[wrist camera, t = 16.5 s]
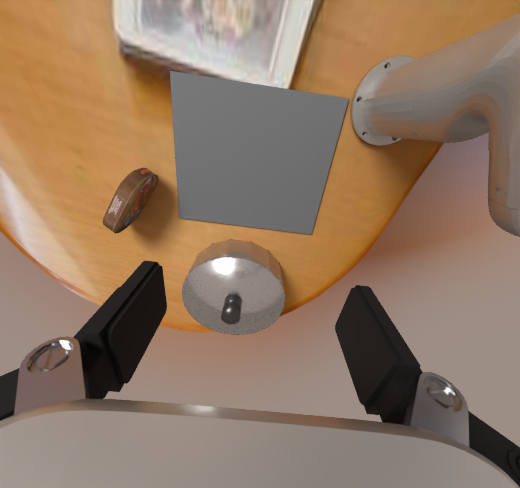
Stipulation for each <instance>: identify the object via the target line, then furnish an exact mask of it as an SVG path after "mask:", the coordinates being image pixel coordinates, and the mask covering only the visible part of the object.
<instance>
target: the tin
mask: <svg viewBox="0 0 520 488" xmlns="http://www.w3.org/2000/svg"><path fill="white" fill-rule="evenodd" d="M157 181H158V176H157V175H155V174H153V173H152V172H151V171H150V170H148V169H147V168H140V169H137V170H134V171H133V172H131V173H130V174H129V175H128V176H127V177H126V178H125V179H124V180H123V181H122V182H121V184H120V185H119V187H118V189H117V191H116V193H115V195H114V197H113V199H112V201H111V203H110V205H109V207H108V210H107V212H106V214H105V216H104V218H103V224H104V225H105V226H106V227H107V228H109V229H110V230H112V231H113V232H114V233H119V232H121V231H123V230H124V229H126V228H127V227H128V226H129V225H130V224H131V223H132V222H133V221H134V220H135V219H136V218H137V217H138V215H139V214H140V212H141V211H142V209H143V207H144V205H145V204H146V202H147V200H148V198H149V197H150V195H151V193H152V191H153V190H154V188H155V186H156V184H157Z"/></svg>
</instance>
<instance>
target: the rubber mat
mask: <svg viewBox="0 0 520 488" xmlns="http://www.w3.org/2000/svg"><path fill="white" fill-rule="evenodd" d="M170 79H171V95H172V111H173V127H174V143H175V159H176V175H177V191H178V207H179V218H183V219H191V220H199V221H207V222H215V223H223V224H231V225H239V226H247V227H255V228H263V229H271V230H279V231H287V232H295V233H303V234H312V231H313V227H314V223H315V220H316V216H317V213H318V209H319V205H320V202H321V198H322V194H323V191H324V187H325V184H326V180H327V176H328V173H329V169H330V165H331V162H332V158H333V155H334V151H335V147H336V144H337V140H338V137H339V133H340V129H341V126H342V122H343V118H344V115H345V111H346V108H347V104H348V100H349V99H348V98H341V97H335V96H328V95H322V94H316V93H309V92H303V91H296V90H290V89H283V88H277V87H270V86H264V85H257V84H251V83H245V82H238V81H232V80H225V79H219V78H212V77H206V76H199V75H193V74H186V73H180V72H174V71H170Z"/></svg>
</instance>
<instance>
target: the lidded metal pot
mask: <svg viewBox="0 0 520 488" xmlns="http://www.w3.org/2000/svg"><path fill="white" fill-rule="evenodd" d="M285 297H286V295H285V286H284V278H283V275H282V271H281V268H280V263H279V262H278V261H277V260H276V259H275V258H274V257H273V255H272V254H271V253H270V252H269V251H268V250H267V249H265V248H263V247H261V246H259V245H257V244H255V243H253V242H251V241H242V240H234V239H230V240H226V241H221V242H217V243H213V244H211V245H210V246H209V247H207V248H206V249H204V250H203V251H202V252H200V253H199V254H198V255H197V257H196V259H195V261H194V263H193V265H192V267H191V269H190V271H189V273H188V275H187V277H186V279H185V281H184V283H183V289H182V298H183V302H184V305H185V307H186V309H187V311H188V312H189V314H190V315H191V316H192V317H193V318H194V319H195V320H196V321H197V322H199V323H200V324H202V325H203V326H205V327H207V328H209V329H211V330H214V331H217V332H220V333H224V334H231V335H244V334H250V333H254V332H257V331H260V330H263V329H265V328H266V327H268V326H270V325H271V324H273V323H274V322H275V321H276V320H277V319H278V317H279V316H280V314H281V312H282V310H283V307H284V302H285Z"/></svg>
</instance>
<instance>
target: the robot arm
mask: <svg viewBox="0 0 520 488" xmlns="http://www.w3.org/2000/svg"><path fill="white" fill-rule="evenodd" d="M384 65H386V68H384ZM357 98H358V99H359V101H358V102H357ZM351 121H352V126H353V128H354V131H355V132H356V134H357V135H358V137H360V138H361V139H362V140H363V141H365V142H367V143H369V144H372V145H378V146H382V145H389V144H393V143H395V142H397V141H400V140H401V139H403V138H404V139H414V140H423V141H433V142H445V143H455V142H463V141H467V140H471V139H474V138H477V137H479V136H482V135H484V134H486V133H489V142H488V149H489V176H488V205H489V212H490V215H491V217H492V219H493V221H494V222H495V223H496V225H498V226H499V227H500V228H502V229H503V230H505V231H506V232H509V233H511V234H513V235H516V236H519V237H520V12H519V13H517V14H516V15H514V16H512V17H510V18H508V19H506V20H504V21H502V22H500V23H498V24H496V25H493V26H491V27H489V28H487V29H485V30H483V31H481V32H478V33H476V34H474V35H471V36H469V37H467V38H464V39H462V40H460V41H458V42H455V43H453V44H451V45H448V46H446V47H444V48H441V49H439V50H437V51H434V52H432V53H430V54H427V55H425V56H423V57H420V58H418V59H416V58H413V57H410V56H397V57H392V58H390V59H388V60H385V61H383V62H381V63H380V64H378V65H377V66H375V67H374V68H373V69H372V70H370V72H369V73H368V74H367V75H366V76H365V77H364V78H363V80H362V81H361V83H360V84H359V86H358V88H357V90H356V92H355V94H354V97H353V101H352V106H351ZM363 132H364V135H362V133H363ZM392 138H393V139H392ZM166 309H167V303H166V295H165V286H164V278H163V269H162V266H160V265H159V264H158V262H152V261H144V262H142V264H141V265H140V266H139V267H138V268H137V269H136V270H135V271H134V273H133V274H132V275H131V276H130V277H129V278H128V279H127V281H126V282H125V283H124V284H123V285H122V286H121V287H119V288H118V289H117V290H116V291H115V292H114V293H113V294H112V295H111V296H110V297H109V298H108V299H107V301H106V302H105V303H104V304H103V305H102V306H101V307H100V308H99V309H98V311H97V312H96V313H95V314H94V315H93V316H92V317H91V318H90V319H89V321H88V322H87V323H86V324H85V325H84V326H83V327H82V329H81V330H80V331H79V332H78V333H77V334H76V335H75V336H74V337H59V338H55V339H52V340H49V341H47V342H45V343H43V344H41V345H39V346H38V347H36V348H35V349H33V350H32V351H31V352H30V353H29V354H28V355H27V356H26V357H25V358H24V360H23V361H22V362H21V365H20V368H18V369H16V370H14V371H12V372H9V373H7V374H5V375H3V376H0V488H520V447H518V446H517V445H516V444H514V443H513V442H511V441H510V440H508V439H507V438H506V437H504V436H503V435H501V434H500V433H499V432H497V431H496V430H494V429H493V428H491V427H490V426H489V425H487V424H486V423H484V422H483V421H481V420H480V419H479V418H477V417H476V416H475V415H473V414H472V413H470V412H469V411H468V406H467V402H466V401H465V399H464V397H463V395H462V394H461V393H460V392H459V390H458V389H457V388H456V387H455V386H453V384H452V383H450V382H449V381H448V380H446V379H445V378H443V377H441V376H439V375H437V374H435V373H431V372H424V373H423V372H422V371H421V369H420V364H419V363H418V361H417V360H416V358H415V357H414V355H413V354H412V352H411V351H410V349H409V348H408V346H407V344H406V343H405V341H404V339H403V338H402V336H401V335H400V333H399V332H398V330H397V329H396V327H395V325H394V324H393V323H392V321H391V319H390V318H389V316H388V315H387V313H386V312H385V310H384V308H383V307H382V305H381V304H380V302H379V301H378V299H377V297H376V296H375V294H374V293H373V291H372V290H371V288H370V287H368V286H360V285H357V286H355V288H352V289H351V291H350V293H349V295H348V297H347V300H346V302H345V304H344V307H343V309H342V311H341V313H340V316H339V318H338V320H337V322H336V325H335V330H336V333H337V336H338V340H339V342H340V345H341V348H342V351H343V354H344V357H345V360H346V363H347V366H348V369H349V372H350V375H351V378H352V380H353V384H354V386H355V389H356V392H357V395H358V398H359V401H360V403H361V404H362V405H364V407H365V410H366V412H367V414H375V415H380V417H381V419H382V422H374V421H366V420H355V419H345V418H335V417H324V416H313V415H302V414H291V413H280V412H268V411H256V410H244V409H234V408H222V407H210V406H198V405H186V404H172V403H161V402H146V401H130V400H115V399H103V398H105V396H106V394H107V393H108V391H115V392H120V390H121V388H122V387H123V385H124V383H128V382H129V381H130V379H131V377H132V375H133V374H134V372H135V370H136V368H137V366H138V364H139V362H140V360H141V358H142V357H143V355H144V353H145V351H146V349H147V347H148V345H149V343H150V341H151V339H152V337H153V336H154V334H155V332H156V330H157V328H158V326H159V324H160V322H161V321H162V319H163V317H164V315H165V313H166Z"/></svg>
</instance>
